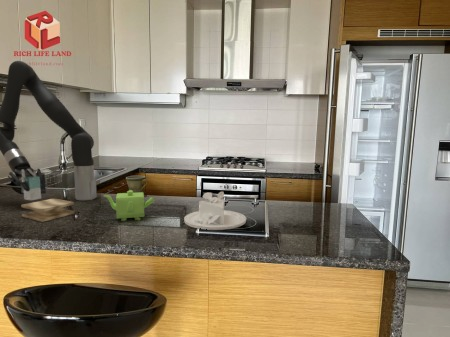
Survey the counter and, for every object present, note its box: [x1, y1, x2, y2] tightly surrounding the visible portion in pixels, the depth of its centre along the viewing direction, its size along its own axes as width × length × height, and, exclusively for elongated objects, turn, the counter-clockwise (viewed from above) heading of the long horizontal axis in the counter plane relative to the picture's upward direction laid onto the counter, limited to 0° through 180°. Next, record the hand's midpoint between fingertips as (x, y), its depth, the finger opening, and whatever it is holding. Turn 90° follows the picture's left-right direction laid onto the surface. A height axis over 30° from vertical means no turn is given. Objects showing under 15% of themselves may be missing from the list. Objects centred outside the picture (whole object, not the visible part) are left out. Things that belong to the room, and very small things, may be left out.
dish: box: [183, 191, 247, 231], centre depth 131 cm, size 25×25×11 cm
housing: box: [23, 176, 42, 201], centre depth 147 cm, size 5×5×10 cm
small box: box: [20, 173, 47, 195], centre depth 180 cm, size 11×6×10 cm, turn 84°
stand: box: [20, 198, 75, 223], centre depth 136 cm, size 14×14×5 cm
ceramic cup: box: [125, 175, 149, 193], centre depth 175 cm, size 13×10×10 cm
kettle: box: [104, 189, 155, 222], centre depth 133 cm, size 15×14×11 cm
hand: (34, 189), depth 146 cm, fingers closed on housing, 4 cm apart
